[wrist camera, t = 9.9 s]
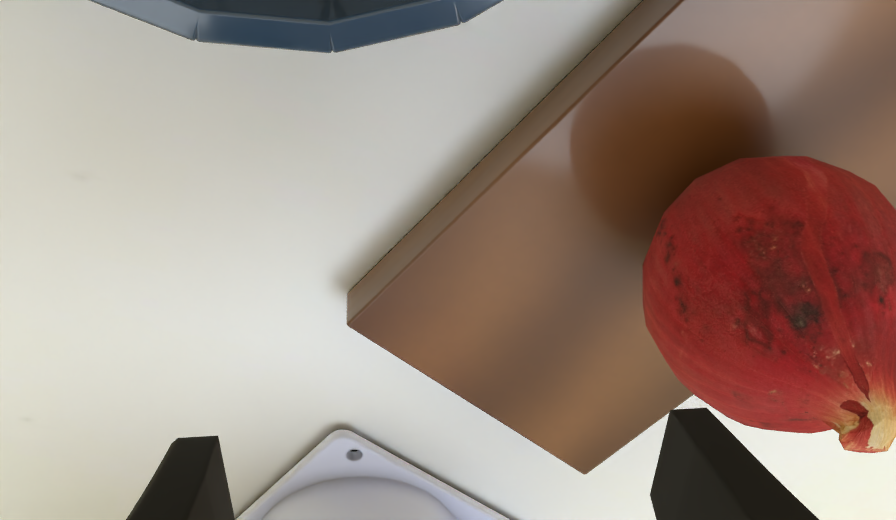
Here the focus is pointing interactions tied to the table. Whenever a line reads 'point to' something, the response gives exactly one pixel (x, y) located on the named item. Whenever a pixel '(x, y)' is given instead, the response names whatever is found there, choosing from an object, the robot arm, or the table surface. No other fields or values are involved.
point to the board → (620, 207)
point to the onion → (781, 298)
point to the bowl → (300, 20)
